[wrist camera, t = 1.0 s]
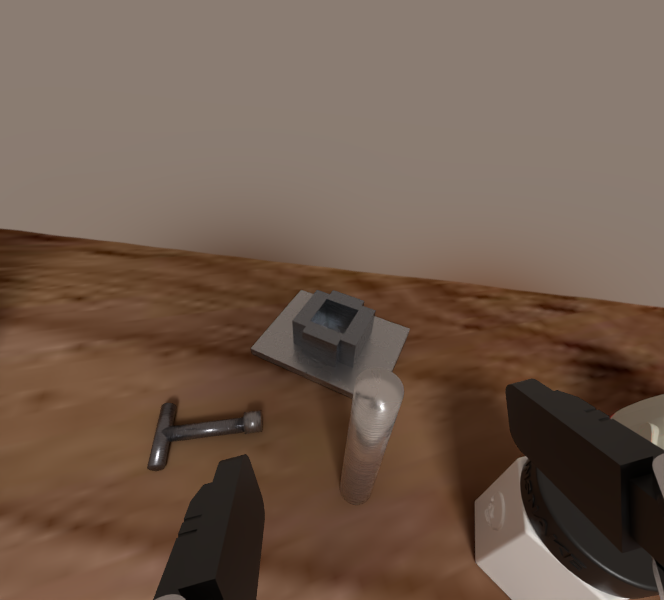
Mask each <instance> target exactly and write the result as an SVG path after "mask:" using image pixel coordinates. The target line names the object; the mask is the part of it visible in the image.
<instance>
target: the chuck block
mask: <svg viewBox="0 0 664 600" xmlns="http://www.w3.org/2000/svg"><path fill="white" fill-rule="evenodd" d="M375 312H376V311H375V310H373V309H370V308H367V307H364V301H363V300H360V299H357V298H354V297H351V296H348V295H345V294H343V293H340V292H337V291H334V290H333V291H332V292H331V294H327V293H324V292H322V291H319V290H317V291H316V292H315V293H314V294H311V293H309V292H306V291H303V290H301V291H300V292H299V293H298V294H297V295H296V296H295V298H294V299H293V300H292V301H291V302H290V303H289V305H288V306H287V307H286V308H285V309H284V310H283V312H282V313H281V314H280V315H279V316H278V317H277V318H276V320H275V321H274V322H273V323H272V324H271V325H270V327H269V328H268V329H267V330H266V331H265V332H264V334H263V335H262V336H261V337H260V338H259V339H258V341H257V342H256V343H255V344H254V345H253V346H252V347H251V353H252V354H253V355H256V356H258V357H260V358H262V359H265V360H267V361H269V362H271V363H274V364H276V365H278V366H280V367H283V368H285V369H287V370H289V371H291V372H294V373H296V374H298V375H300V376H303V377H305V378H307V379H309V380H312V381H314V382H316V383H318V384H321V385H323V386H325V387H327V388H330V389H332V390H334V391H336V392H338V393H341V394H343V395H345V396H347V397H350V398H352V399H353V394H354V387H355V382H356V379H357V377H358V376H359V374H360V373H361V372H363V371H364V370H366V369H369V368H384V369H387V370H389V371H391V372H392V371H393V369H394V367H395V364H396V362H397V360H398V357H399V355H400V353H401V350H402V348H403V346H404V343H405V341H406V339H407V336H408V334H409V330H410V329H409V328H406V327H403V326H400V325H398V324H395V323H392V322H389V321H387V320H384V319H381V318H378V317H375Z"/></svg>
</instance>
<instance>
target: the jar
mask: <svg viewBox="0 0 664 600" xmlns="http://www.w3.org/2000/svg"><path fill="white" fill-rule="evenodd" d="M475 561H476V563H477V565H478V566H479V567H480V568H481V569H482V570H483V571H484V572H485V573H486V574H487V575H488V576H489V577H490V578H491V579H492V580H493V581H494V582H495V583H496V584H497V585H498V586H499V587H500V588H501V589H502V590H503V591H504V592H505V593H506V594H507V595H508V596H509V597H510V598H511V599H512V600H628V599H638V598H644V597H649V596H654V595H659V591H658V588H657V584H656V580H655V577H654V573H653V569H652V556H651V555H650V554H649V553H648V552H647V551H646V550H644V549H643V548H639V549H636V550H632V551H629V552H626V553H621V552H620V551H619V550H618V549H617V548H616V547H615V546H614V545H613V544H612V543H611V542H610V541H609V540H608V539H607V538H606V537H605V536H604V535H603V534H602V533H601V532H600V531H599V530H598V529H597V527H596V526H595V525H594V524H593V523H592V522H591V521H590V520H589V519H588V518H587V517H586V516H585V515H584V514H583V513H582V512H581V511H580V510H579V509H578V508H577V507H576V506H575V505H574V504H573V503H572V502H571V501H570V500H569V499H568V498H567V497H566V496H565V495H564V494H563V493H562V492H561V491H560V490H559V489H558V488H557V487H556V486H555V485H554V484H553V483H552V482H551V481H550V480H549V479H548V478H547V477H546V476H545V475H544V474H543V473H542V472H541V471H540V470H539V469H538V468H537V467H536V466H535V465H534V464H533V463H532V462H531V461H530V460H529V459H528V458H527V457H526V456H524V457H520V458H517V459H516V460H515V461H514V462H513V463H512V465H511V466H510V467H509V468H508V469H507V470H506V471H505V472H504V473H503V474H502V475H501V476H500V477H499V478H498V479H497V480H496V481H495V482H494V483H493V484H492V485H491V486H490V487H489V488H488V489H487V490H486V491H485V492H484V493H483V494H482V495H481V496H480V497H479V498H478V499H477V500H476V501H475Z"/></svg>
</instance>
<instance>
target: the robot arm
mask: <svg viewBox="0 0 664 600" xmlns="http://www.w3.org/2000/svg"><path fill="white" fill-rule="evenodd" d="M506 400H507V409H508V418H509V427H510V432H511V435H512V438H513V440H514V442H515V444H516V445H517V447H518V448H519V449H520V451H521V452H522V453H523V454H524V455H525V456H526V457H527V458H528V459H529V460H530V461H531V462H532V463H533V464H534V465H535V466H536V467H537V468H538V469H539V470H540V471H541V472H542V473H543V474H544V475H545V476H546V477H547V478H548V479H549V480H550V481H551V482H552V483H553V484H554V485H555V486H556V487H557V488H558V489H559V490H560V491H561V492H562V493H563V494H564V495H565V496H566V497H567V498H568V499H569V500H570V501H571V502H572V503H573V504H574V505H575V506H576V507H577V508H578V509H579V510H580V511H581V512H582V513H583V514H584V515H585V516H586V517H587V518H588V519H589V520H590V521H591V522H592V523H593V524H594V525H595V526H596V527H597V529H598V530H599V531H600V532H601V533H602V534H603V535H604V536H605V537H606V538H607V539H608V540H609V541H610V542H611V543H612V544H613V545H614V546H615V547H616V548H617V549H618V550H619V551H620V552H621V553H626V552H629V551H632V550H636V549H639V548H643V549H644V550H646V551H647V552H648V553H649V554H650V555H651V556H652V569H653V573H654V577H655V580H656V584H657V588H658V591H659V595H660V599H661V600H664V450H663V449H662V448H660V447H658V446H657V445H655V444H653V443H652V442H650V441H649V440H647V439H645V438H644V437H642V436H640V435H639V434H637V433H636V432H634V431H632V430H631V429H629V428H627V427H626V426H624V425H623V424H621V423H619V422H618V421H616V420H614V419H610V417H609V416H608V415H606V414H605V413H603V412H601V411H600V410H596V409H595V407H593V406H592V405H590V404H588V403H587V402H585V401H583V400H582V399H580V398H579V397H576V396H573V395H570V394H567V393H564V392H561V391H558V390H556V391H553V390H551V389H550V388H548V387H546V386H545V385H543V384H542V383H540V382H539V381H537V380H535V379H528V380H525V381H521V382H517V383H513V384H510V385H507V387H506ZM264 520H265V512H264V503H263V498H262V495H261V492H260V489H259V486H258V483H257V480H256V477H255V474H254V471H253V468H252V465H251V462H250V459H249V457H248V456H247V455H246V454H244V455H241V456H237V457H233V458H229V459H226V460H222V461H220V462H219V464H218V467H217V470H216V473H215V476H214V479H213V482H212V483H208V484H204V485H203V486H202V487H201V489H200V490H199V491H198V493H197V494H196V495H195V496H194V498H193V499H192V500H191V502H190V504H189V507H188V510H187V512H186V515H185V517H184V522H183V523H182V525H181V528H180V531H179V533H178V538H176V541H175V544H174V546H173V549H172V552H171V554H170V557H169V560H168V562H167V565H166V567H165V570H164V573H163V575H162V578H161V581H160V583H159V586H158V588H157V591H156V594H155V596H154V599H153V600H256V596H257V586H258V577H259V568H260V558H261V549H262V540H263V530H264Z"/></svg>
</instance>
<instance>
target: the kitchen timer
mask: <svg viewBox="0 0 664 600" xmlns="http://www.w3.org/2000/svg"><path fill="white" fill-rule="evenodd" d="M610 419H614V420H616V421H618V422H619V423H621V424H623V425H624V426H626V427H627V428H629V429H631V430H632V431H634V432H636V433H637V434H639V435H640V436H642V437H644V438H645V439H647V440H649V441H650V442H652V443H653V444H655V445H657V446H658V447H660V448H662V449H663V450H664V394H662V395H658V396H655V397H651V398H648V399H645V400H642V401H639V402H637V403H634V404H632V405H629V406H627V407H625V408H622V409H620V410H619V411H617V412H615V413H614V414H613V415H612V416H611V417H610Z"/></svg>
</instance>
